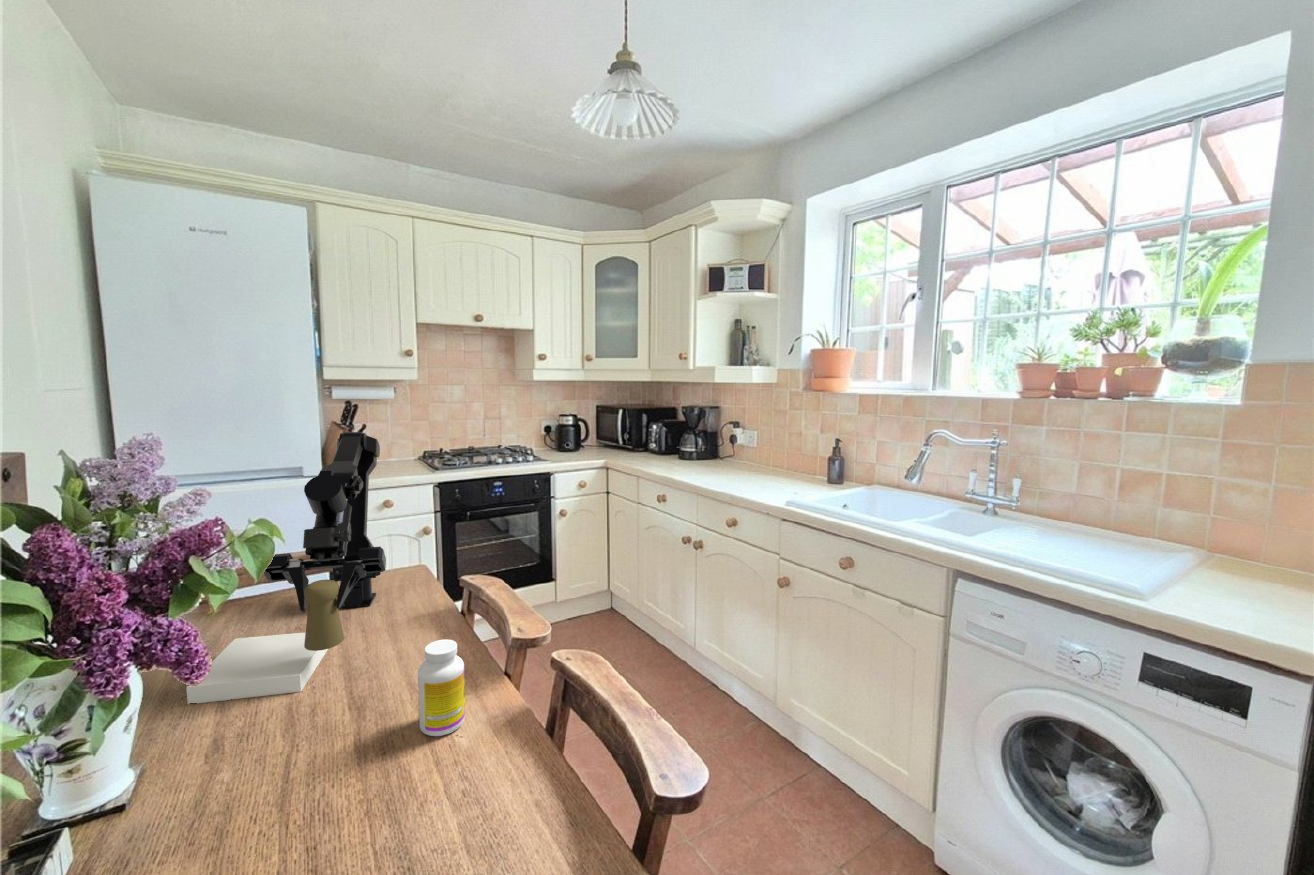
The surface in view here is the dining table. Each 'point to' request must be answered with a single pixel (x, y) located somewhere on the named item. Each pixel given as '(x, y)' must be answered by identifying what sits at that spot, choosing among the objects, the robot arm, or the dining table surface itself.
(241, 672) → the base block
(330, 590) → the cork
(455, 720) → the supplement bottle
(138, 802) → the dining table surface
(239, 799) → the dining table surface
